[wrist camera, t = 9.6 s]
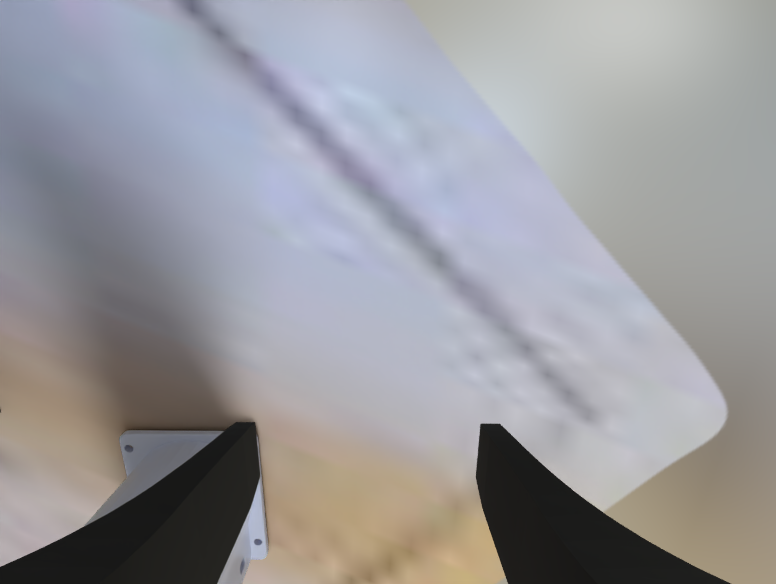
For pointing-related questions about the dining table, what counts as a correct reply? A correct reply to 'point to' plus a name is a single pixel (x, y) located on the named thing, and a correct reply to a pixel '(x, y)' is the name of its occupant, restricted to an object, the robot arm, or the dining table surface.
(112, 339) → the dining table surface
